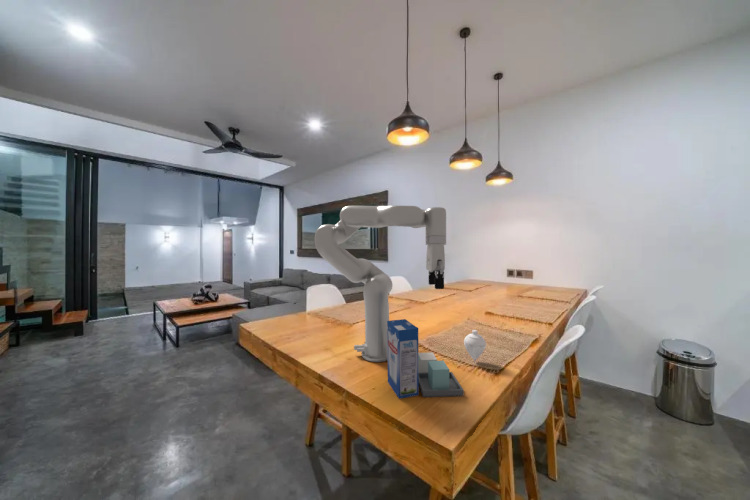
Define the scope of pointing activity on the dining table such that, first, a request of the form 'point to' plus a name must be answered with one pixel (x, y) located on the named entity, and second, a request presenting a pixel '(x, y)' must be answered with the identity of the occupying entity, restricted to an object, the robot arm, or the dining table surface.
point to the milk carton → (403, 358)
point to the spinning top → (474, 344)
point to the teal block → (438, 375)
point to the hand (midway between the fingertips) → (435, 286)
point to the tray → (453, 390)
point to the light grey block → (425, 361)
